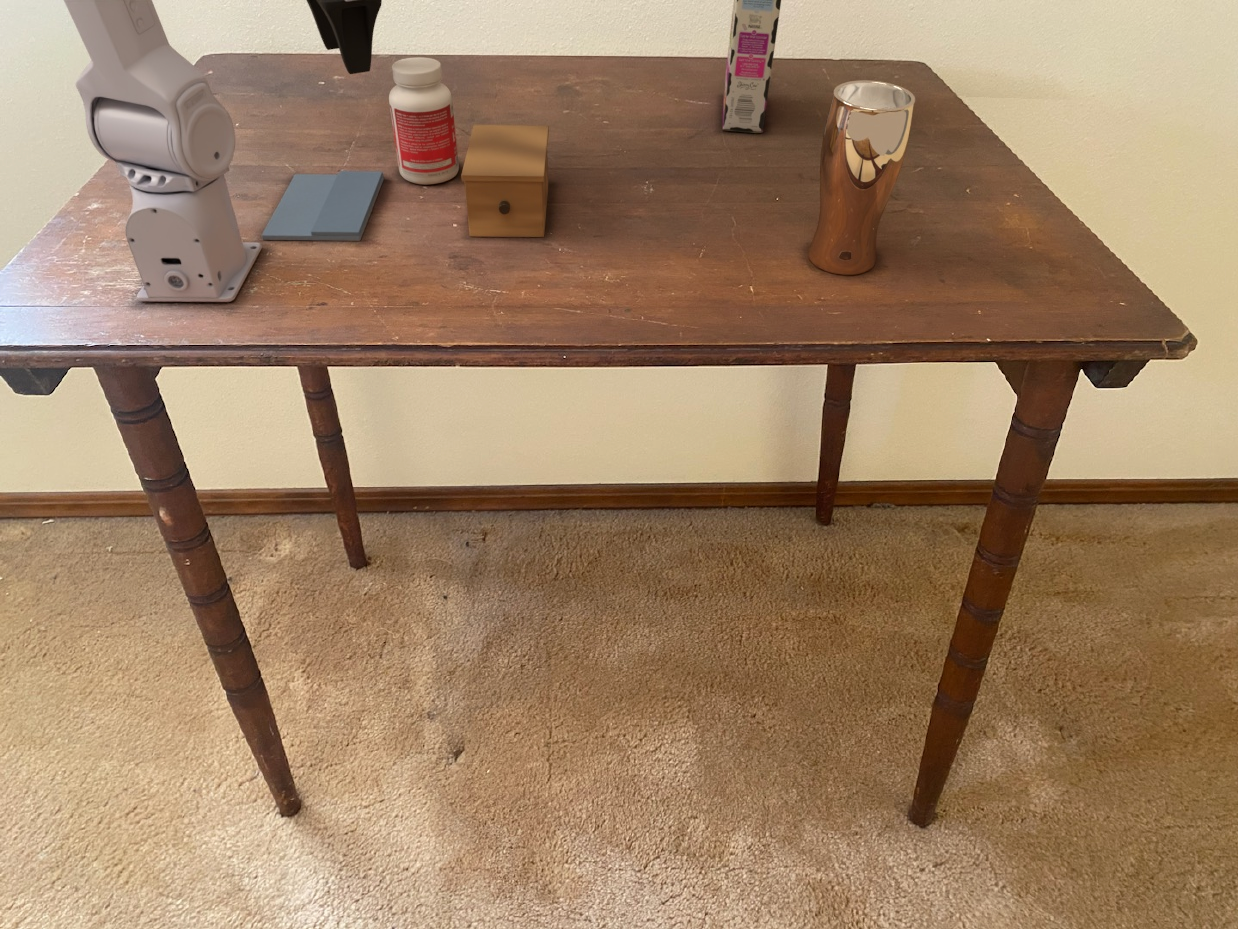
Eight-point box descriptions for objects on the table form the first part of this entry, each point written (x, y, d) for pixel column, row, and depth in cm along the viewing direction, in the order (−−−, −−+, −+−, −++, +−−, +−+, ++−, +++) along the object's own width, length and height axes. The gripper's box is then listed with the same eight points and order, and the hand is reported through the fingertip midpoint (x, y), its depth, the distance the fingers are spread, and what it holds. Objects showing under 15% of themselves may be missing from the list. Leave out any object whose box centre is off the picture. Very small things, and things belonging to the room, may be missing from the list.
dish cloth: (360, 240, 86) (358, 232, 86) (262, 240, 86) (260, 231, 86) (383, 179, 96) (382, 170, 95) (295, 178, 96) (294, 169, 95)
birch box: (545, 241, 87) (543, 178, 83) (466, 240, 87) (460, 177, 83) (550, 184, 96) (548, 125, 92) (478, 183, 96) (473, 124, 92)
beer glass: (788, 258, 86) (814, 93, 76) (830, 232, 89) (860, 72, 79) (853, 286, 82) (890, 117, 72) (893, 258, 86) (933, 94, 76)
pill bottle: (469, 177, 97) (459, 68, 89) (414, 191, 94) (399, 80, 87) (443, 156, 100) (431, 49, 93) (390, 168, 98) (373, 60, 91)
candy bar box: (765, 134, 107) (785, -22, 96) (721, 132, 107) (737, -25, 96) (763, 98, 115) (781, -50, 104) (722, 96, 115) (737, -52, 104)
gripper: (390, -84, 81) (410, 76, 90) (341, -116, 90) (364, 32, 99) (308, -77, 78) (338, 88, 87) (267, -111, 87) (298, 41, 96)
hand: (347, 59), depth 93 cm, fingers open, 7 cm apart
